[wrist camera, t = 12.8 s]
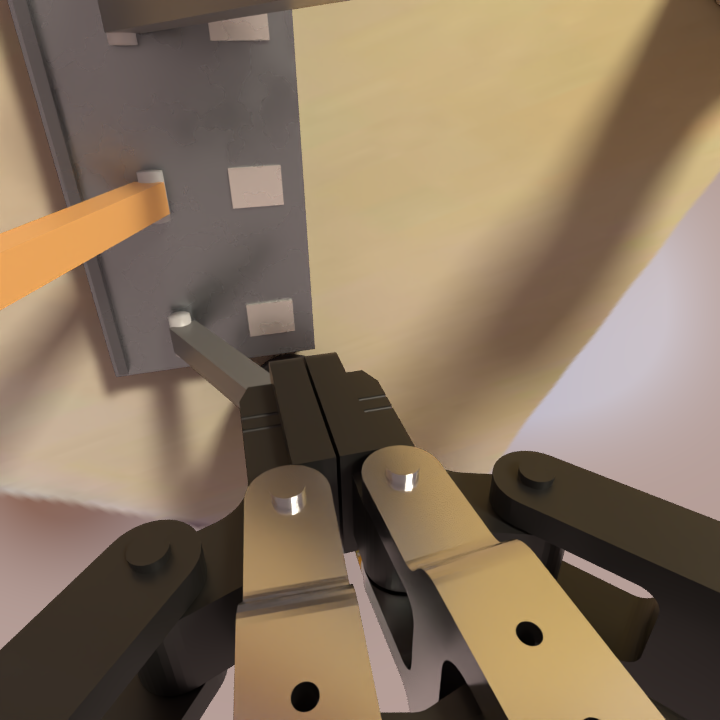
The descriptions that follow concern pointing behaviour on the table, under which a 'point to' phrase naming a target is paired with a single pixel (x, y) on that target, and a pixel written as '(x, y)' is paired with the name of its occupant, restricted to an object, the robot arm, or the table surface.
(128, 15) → the lever low
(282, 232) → the breaker panel
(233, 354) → the lever high
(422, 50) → the table surface
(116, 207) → the lever mid
